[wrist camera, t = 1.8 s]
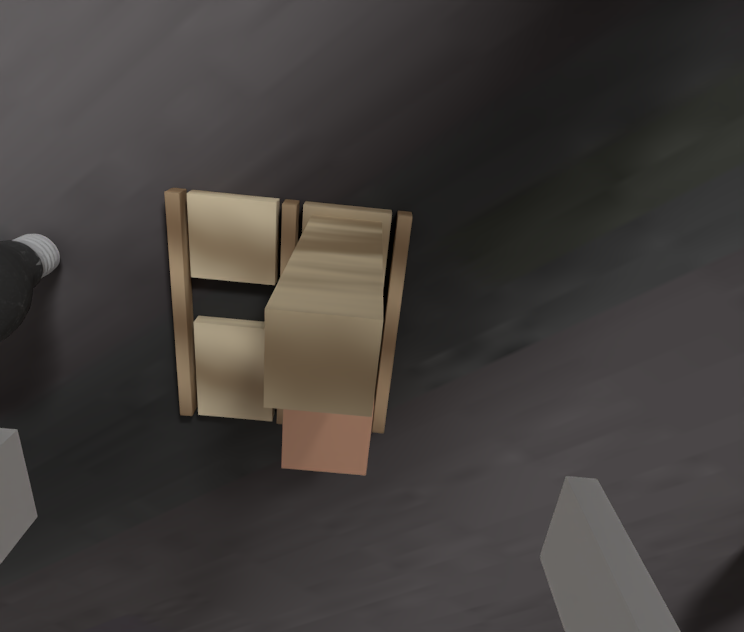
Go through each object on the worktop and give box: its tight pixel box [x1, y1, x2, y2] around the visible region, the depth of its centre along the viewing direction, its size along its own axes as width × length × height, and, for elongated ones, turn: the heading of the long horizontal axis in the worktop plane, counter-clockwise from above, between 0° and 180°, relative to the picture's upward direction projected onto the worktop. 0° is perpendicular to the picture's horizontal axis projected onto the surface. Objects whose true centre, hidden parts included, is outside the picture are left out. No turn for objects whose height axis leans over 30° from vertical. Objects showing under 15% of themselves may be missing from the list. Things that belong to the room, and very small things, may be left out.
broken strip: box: [187, 190, 280, 421], centre depth 32 cm, size 15×5×1 cm, turn 175°
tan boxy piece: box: [264, 201, 392, 417], centre depth 27 cm, size 15×5×14 cm, turn 175°
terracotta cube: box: [281, 403, 374, 475], centre depth 32 cm, size 5×5×5 cm
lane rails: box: [164, 188, 412, 433], centre depth 32 cm, size 15×14×1 cm
